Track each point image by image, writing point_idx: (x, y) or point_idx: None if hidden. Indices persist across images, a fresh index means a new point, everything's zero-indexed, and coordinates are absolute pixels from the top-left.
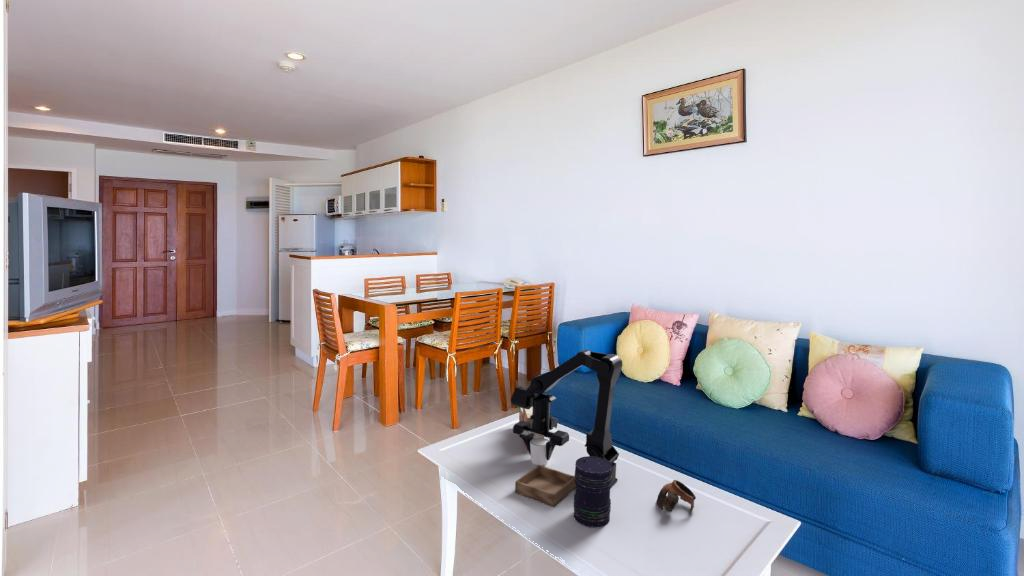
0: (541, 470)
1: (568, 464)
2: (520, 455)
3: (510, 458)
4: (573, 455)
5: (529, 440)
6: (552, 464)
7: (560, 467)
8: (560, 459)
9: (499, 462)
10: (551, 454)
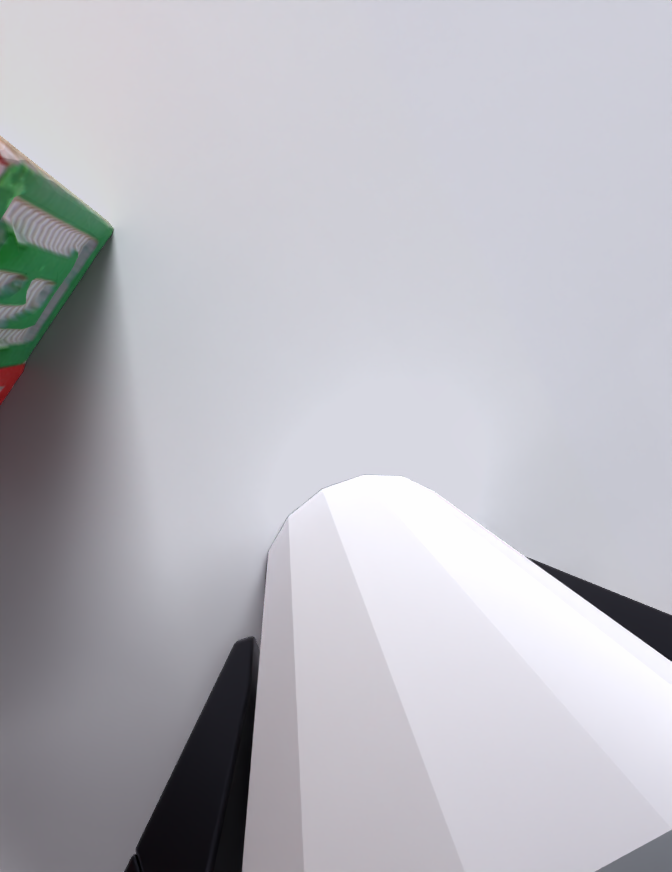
0: None
1: (640, 363)
2: (64, 646)
3: (67, 763)
4: (621, 31)
5: None
6: (504, 498)
7: (594, 481)
8: (520, 325)
9: (85, 864)
10: (598, 588)
